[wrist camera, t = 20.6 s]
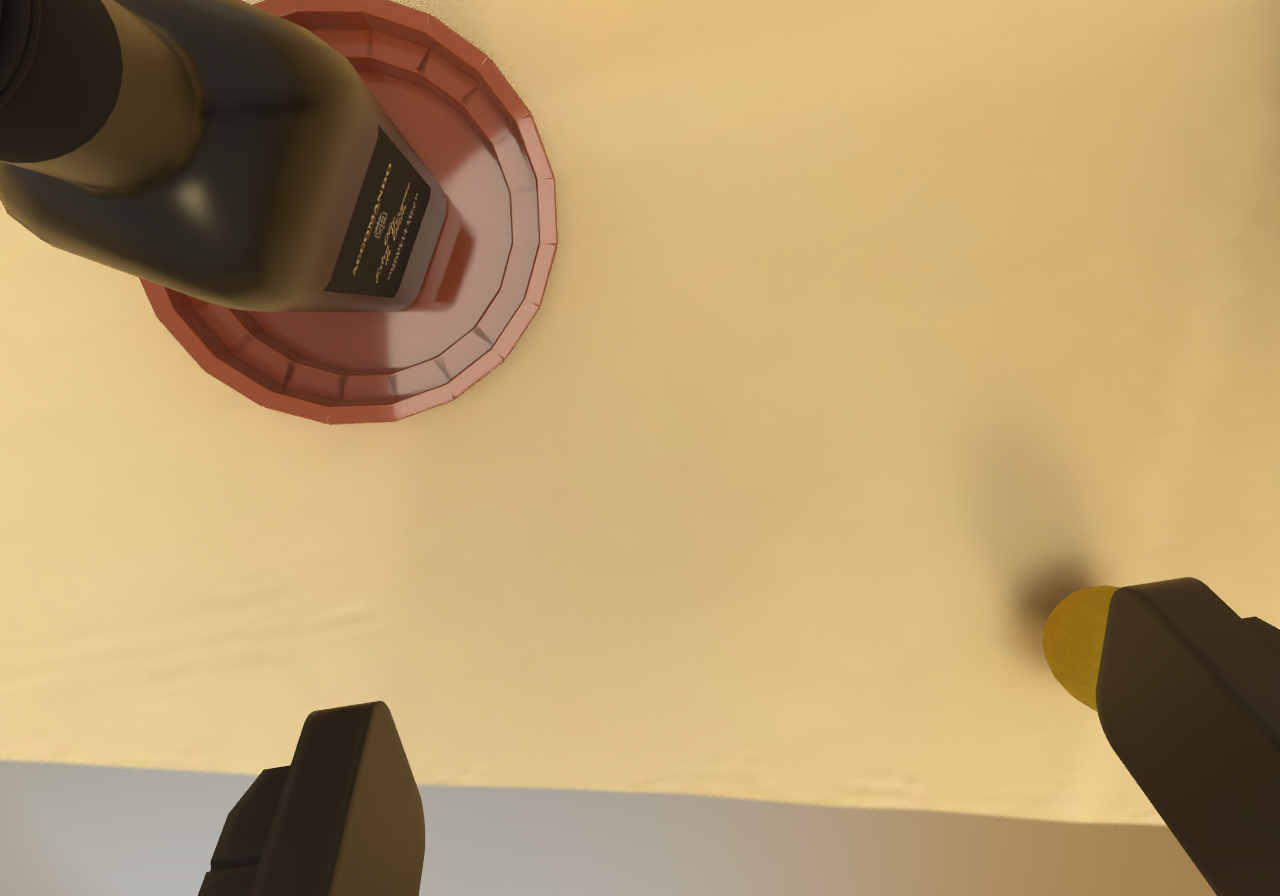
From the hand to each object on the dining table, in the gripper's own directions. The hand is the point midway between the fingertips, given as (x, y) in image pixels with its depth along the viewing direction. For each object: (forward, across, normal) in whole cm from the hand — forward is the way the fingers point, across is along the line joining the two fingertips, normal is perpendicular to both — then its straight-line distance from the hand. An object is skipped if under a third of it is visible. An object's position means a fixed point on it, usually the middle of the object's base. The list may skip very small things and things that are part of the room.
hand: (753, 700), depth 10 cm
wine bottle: (+30, +10, +1) cm, 32 cm away
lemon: (+26, -19, +24) cm, 40 cm away
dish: (+31, +10, +1) cm, 32 cm away
